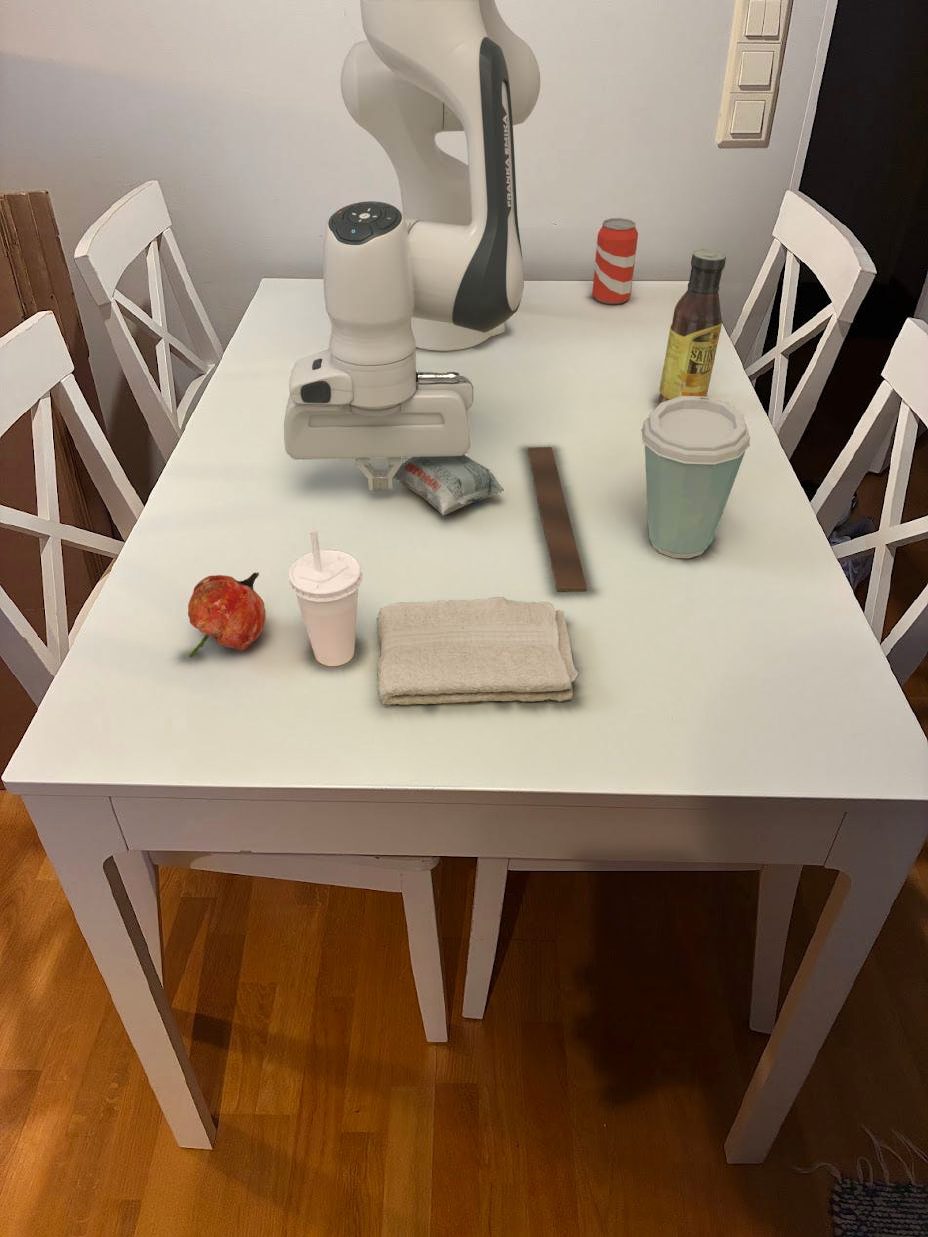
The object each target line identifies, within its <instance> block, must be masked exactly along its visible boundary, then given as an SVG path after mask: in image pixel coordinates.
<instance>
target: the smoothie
mask: <svg viewBox="0 0 928 1237" xmlns="http://www.w3.org/2000/svg"><path fill="white" fill-rule="evenodd" d="M309 532H310V539H311V548H312V552H309V553H306V554H304V555H302V556H301V557H299V558H297V559H296V560H295V561H294V562H293V563H292V565H290V567H289V569H288V585H289V588H290V590H291V591H292V592H293V594H294V595H295V597H296V600H297V604H298V606H299V610H300V612H301V616H302V619H303V623H304V625H305V628H306V633H307V634H308V638H309V642H310V645H311V648H312V652H313V654H314V658H315V660H316V661H317V662H318V663H319V664H321V665H323V666H327V667H338V666H339V667H340V666H342V665H344V664H347V663H348V662H350V661H351V660H352V659H353V657H354V655H355V650H356V649H355V648H356V647H355V646H356V631H357V630H356V629H357V618H358V617H357V615H358V601H359V600H358V598H359V588H360V586H361V584H362V582H363V577H364V576H363V572H362V566H361V563H360V562H359V560H358V559H357V558H356V557H355V556H353V555H351V554H350V553H347V552H345V551H342V550H336V549H321V550H320V542H319V535H318V530H317V529H316V528H312V529H310V531H309Z"/></svg>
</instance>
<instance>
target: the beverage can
mask: <svg viewBox="0 0 928 1237" xmlns="http://www.w3.org/2000/svg"><path fill="white" fill-rule="evenodd" d="M636 225H637V224H636V222H635V221H633V220H632V219H628V218H623V217H611V218H607V219H603V221H602V226H601V228H600V229H599V230H598V233H597V238H596V248H595V249H596V250H595V261H594V270H593V281H592V293H591V296H592V297H593V298H594V299H596V300H597V301H598V302H600V303H601V304H606V305H620V304H623V303H625V301H628V300H630V298H631V295H632V287H633V280H634V272H635V264H636V256H637V246H638V238H639V233H638V230H637V228H636Z"/></svg>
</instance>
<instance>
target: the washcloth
mask: <svg viewBox="0 0 928 1237" xmlns="http://www.w3.org/2000/svg"><path fill="white" fill-rule="evenodd" d="M376 623H377V633H378V638H379V643H380V656H379V658H378V659H377V660H378V664H377V674H376V675H377V681H378V684H377V694H378V698H379V700H380V701H381V703H382V705H388V706H389V705H397V704H398V705H400V706H401V705H406V706H407V705H408V706H409V705H420V704H422V705H428V704H432V705H433V704H435V705H439V704H447V703H449V704H450V703H451V704H454V703H456V704H457V703H469V702H470V703H471V702H479V701H481V702H489V701H491V702H494V701H495V702H498V701H501V702H513V701H521V702H536V701H537V702H543V701H545V700H547V701H548V700H553V701H558V702H563V701H570V700H572V699H573V695H574V692H573V690H574V689H573V683H574V681H575V680H576V679H577V678H578V677H579V675H580V673H579V672H578V671H577V669H576V668H575V664H574V659H573V653H572V647H571V642H570V637H569V632H568V631H569V630H568V627H567V621H566V616H565V611H564V610H561V609H555V607H554V605H553V604H552V603H551V602H547V601H517V600H509V599H507V598H505V596H493V597H489V598H480V599H479V598H478V599H447V600H446V599H441V600H432V601H408V602H406V601H405V602H404V601H401V602H400V601H399V602H395V603H391V604H389V605H386V606H383V607H381V608H379V611H378V613H377V618H376Z"/></svg>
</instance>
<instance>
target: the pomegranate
mask: <svg viewBox="0 0 928 1237" xmlns="http://www.w3.org/2000/svg"><path fill="white" fill-rule="evenodd" d="M259 576H260V572H253V573H252V574H250V576H248V578H245V579H244V580H237V579H235V578H234V577H233V576H231V575H222V574H220V575H217V574H215V575H208V576H206V577H204V578H203V579H201V580H200V581H199V582H197V583H196V585H195V586H194V588H193V591H192V595H191V596H190V599H189V602H188V605H187V616H188V618H189V623H190V625H191V626H193V628H195V629H196V630H199V631H200V632H201V633H203V634H205V635H204V636H203V638H202V640H201V641H200V642H199V643H198V644H197V645H196V647H195V648H194V649H193V650H192V651H190V654H188V657H190V658H192V657H193V656H194V655H195V654H196V653H198V651H199V650H200V648H202V647H203V646H205V643H206V642H207V640H208V639H209V638H210V637H212V638H213V639H214V640H216V642H217V643H218V644H219V645H221V646H222V647H226V648H231V649H234V650H235V651H237V652H241V651H244V650H246V649H248V648H249V647H250V646H251V645H253V643H254V642H255V641H256V640H257V639H258V638H259V637H260V636H261V634H262V631H263V628H264V626H265V624H266V621H267V620H266V619H267V616H266V615H267V613H266V607H265V602H264V600H263V599H262V597H261V596H260V595H259V594H258V592H256V590H255V589H254V583H255V582H256V579H257V578H258V577H259Z"/></svg>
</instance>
